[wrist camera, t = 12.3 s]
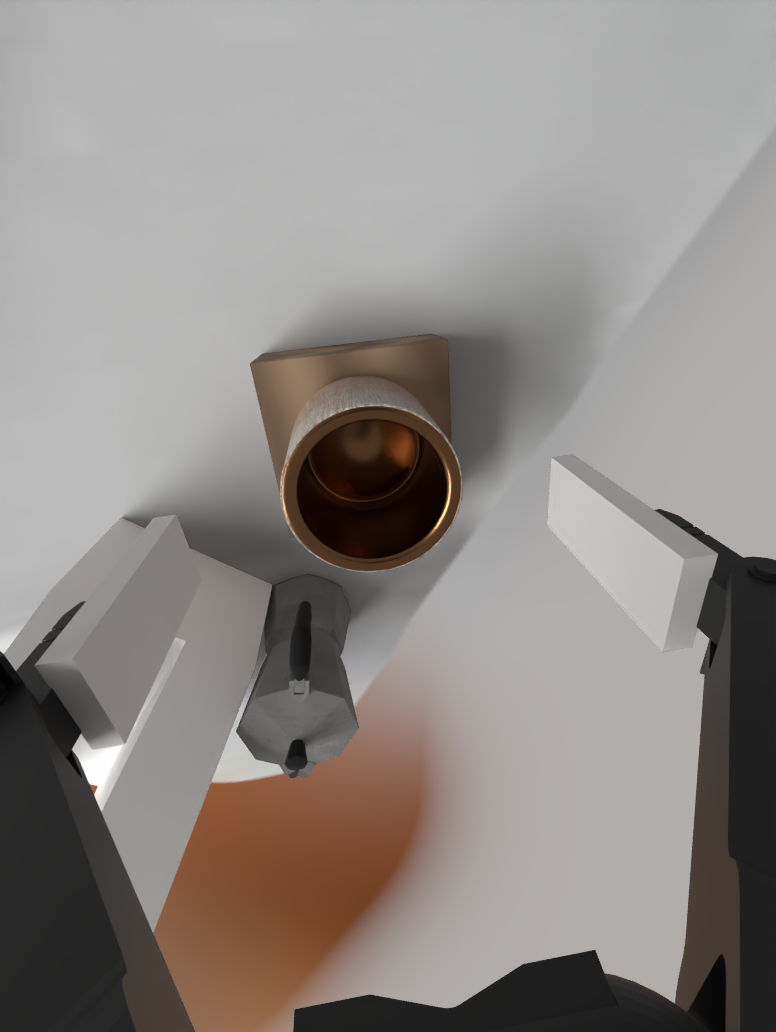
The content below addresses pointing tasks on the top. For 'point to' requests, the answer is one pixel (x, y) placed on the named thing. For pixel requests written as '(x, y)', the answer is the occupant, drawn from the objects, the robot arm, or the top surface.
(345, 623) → the coffeepot
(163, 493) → the top surface
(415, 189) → the top surface
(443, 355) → the plinth
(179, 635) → the white slotted block
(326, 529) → the planter
